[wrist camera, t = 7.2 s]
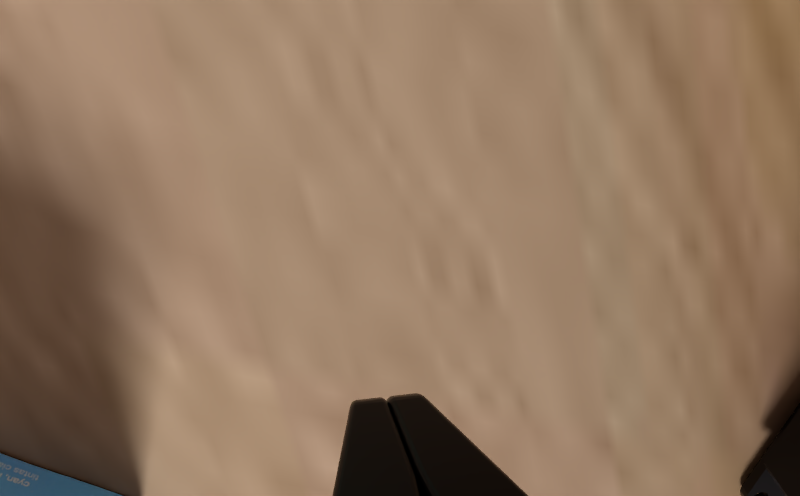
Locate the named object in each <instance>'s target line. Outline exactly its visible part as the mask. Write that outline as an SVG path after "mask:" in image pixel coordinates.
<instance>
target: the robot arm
mask: <svg viewBox="0 0 800 496" xmlns="http://www.w3.org/2000/svg"><path fill="white" fill-rule="evenodd" d="M740 493H741V496H800V404H799V405H798V407H797V408H796V410H795V411H794V413H793V414H792V415H791V417H790V418H789V420H788V421H787V423H786V424H785V425H784V427H783V428H782V430H781V431H780V433H779V434H778V435H777V437H776V438H775V440H774V441H773V443H772V444H771V445H770V447H769V448H768V450H767V451H766V453H765V454H764V455H763V457H762V458H761V460H760V461H759V463H758V464H757V465H756V467H755V468H754V470H753V471H752V473H751V474H750V475H749V477H748V478H747V480H746V481H745V483H744V484H743V485H742V487H741V490H740ZM757 493H758V494H757ZM333 496H528V495H527V494H526V493H525V492H524V491H523V490H522V489H520V488H519V487H518V486H517V485H516V484H515V483H514V482H513V481H512V480H511V479H510V478H509V477H508V476H507V475H506V474H505V473H504V472H503V471H502V470H501V469H500V468H499V467H497V466H496V465H495V464H494V463H493V462H492V461H491V460H490V459H489V458H488V457H487V456H486V455H485V454H484V453H483V452H482V451H481V450H480V449H479V448H478V447H477V446H475V445H474V444H473V443H472V442H471V441H470V440H469V439H468V438H467V437H466V436H465V435H464V434H463V433H462V432H461V431H460V430H459V429H458V428H457V427H456V426H455V425H454V424H452V423H451V422H450V421H449V420H448V419H447V418H446V417H445V416H444V415H443V414H442V413H441V412H440V411H439V410H438V409H437V408H436V407H435V406H434V405H433V404H432V403H430V402H429V401H428V400H427V399H426V398H425V397H424V396H422V395H421V394H417V393H415V394H406V395H397V396H391V397H389V398H388V399H387V401H386V400H385V399H383V398H380V397H379V398H371V399H362V400H355V401H353V402H352V404H351V406H350V410H349V415H348V420H347V425H346V430H345V435H344V440H343V446H342V451H341V456H340V461H339V466H338V471H337V476H336V481H335V486H334V491H333Z"/></svg>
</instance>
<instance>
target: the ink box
mask: <svg viewBox="0 0 800 496" xmlns="http://www.w3.org/2000/svg"><path fill="white" fill-rule="evenodd" d="M0 496H122V495H120V494H117V493H114V492H111V491H108V490H105V489H103V488H100V487H97V486H94V485H91V484H88V483H85V482H82V481H79V480H76V479H74V478H71V477H67V476H64V475H61V474H58V473H55V472H52V471H49V470H46V469H43V468H40V467H37V466H34V465H31V464H28V463H26V462H23V461H20V460H18V459H15V458H12V457H9V456H7V455H4V454H1V453H0Z"/></svg>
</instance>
